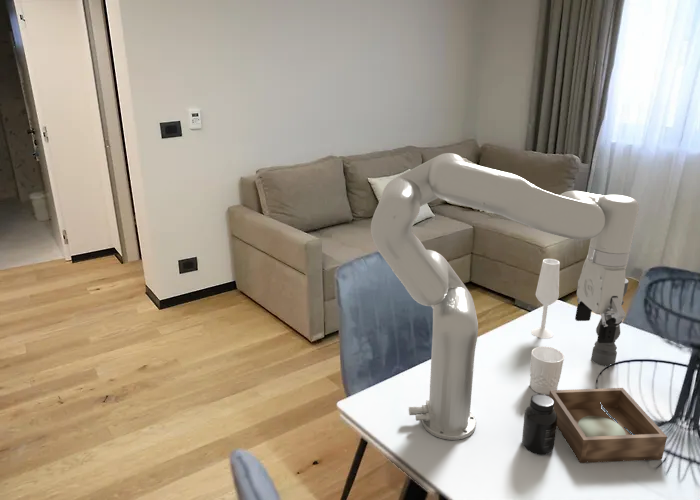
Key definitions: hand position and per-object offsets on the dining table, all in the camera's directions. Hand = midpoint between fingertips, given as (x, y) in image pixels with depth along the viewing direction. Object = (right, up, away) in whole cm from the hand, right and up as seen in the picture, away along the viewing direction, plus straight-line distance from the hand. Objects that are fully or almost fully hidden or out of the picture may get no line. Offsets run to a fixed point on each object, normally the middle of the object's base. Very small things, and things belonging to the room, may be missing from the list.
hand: (593, 330), depth 117 cm
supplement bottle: (-10, -27, +5) cm, 29 cm away
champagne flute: (+8, -9, +54) cm, 55 cm away
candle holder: (+20, -14, +38) cm, 46 cm away
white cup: (-1, -19, +26) cm, 32 cm away
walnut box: (+6, -25, +8) cm, 27 cm away
